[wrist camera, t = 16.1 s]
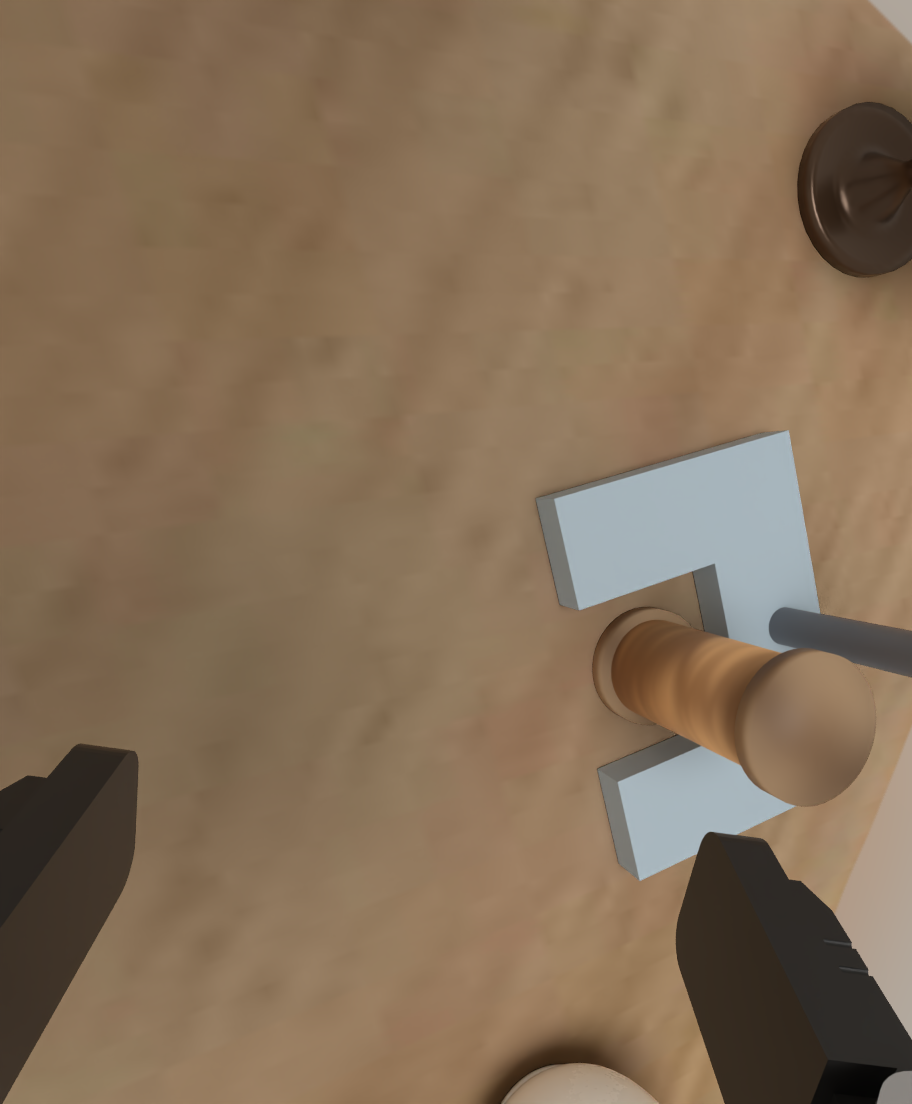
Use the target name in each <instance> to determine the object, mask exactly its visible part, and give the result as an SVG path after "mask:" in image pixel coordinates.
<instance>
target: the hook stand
mask: <svg viewBox="0 0 912 1104" xmlns="http://www.w3.org/2000/svg"><path fill="white" fill-rule="evenodd" d="M536 503H537V507H538V511H539V516H540V520H541V524H542V529H543V533H544V538H545V542H546V546H547V551H548V555H549V560H550V564H551V568H552V573H553V577H554V581H555V586H556V590H557V595H558V599H559V603H560V605H562V606H566V607H569V608H573V609H576V610H582V609H585V608H587V607H590V606H593V605H596V604H599V603H602V602H605V601H608V600H611V599H613V598H616V597H619V596H622V595H625V594H628V593H631V592H634V591H637V590H639V589H642V588H645V587H648V586H651V585H654V584H657V583H660V582H663V581H665V580H668V579H671V578H674V577H677V576H680V575H683V574H686V573H689V572H691V571H693V575H694V580H695V585H696V590H697V595H698V600H699V605H700V610H701V615H702V620H703V625H704V630H705V632H708V633H712V634H716V635H719V636H723V637H726V638H730V639H733V640H737V641H741V642H744V643H748V644H751V645H755V646H759V647H762V648H766V649H769V650H773V651H776V652H780V653H783V652H786V651H788V650H792V649H797V648H812V649H816V650H820V651H824V652H827V653H831V654H835V655H839V656H841V657H844V658H846V659H848V660H849V661H851V662H852V663H856V664H860V665H864V666H868V667H872V668H876V669H880V670H884V671H888V672H892V673H896V674H900V675H904V676H908V677H912V631H909V630H904V629H899V628H894V627H888V626H883V625H878V624H872V623H867V622H862V621H856V620H851V619H846V618H841V617H835V616H830V615H825V614H820V609H819V603H818V597H817V591H816V585H815V580H814V574H813V568H812V562H811V557H810V551H809V545H808V539H807V534H806V528H805V522H804V516H803V511H802V505H801V499H800V493H799V487H798V482H797V476H796V470H795V464H794V459H793V453H792V447H791V441H790V436H789V430H786V431H776V432H766V433H760V434H756V435H753V436H749V437H746V438H742V439H739V440H736V441H732V442H729V443H725V444H722V445H718V446H715V447H711V448H708V449H705V450H701V451H698V452H694V453H691V454H687V455H684V456H680V457H677V458H674V459H670V460H667V461H663V462H660V463H656V464H653V465H649V466H646V467H643V468H639V469H636V470H632V471H629V472H625V473H622V474H618V475H615V476H612V477H608V478H605V479H601V480H598V481H594V482H591V483H587V484H584V485H581V486H577V487H574V488H570V489H567V490H563V491H560V492H556V493H553V494H550V495H546V496H543V497H539V498H536ZM597 770H598V774H599V779H600V783H601V787H602V792H603V796H604V800H605V805H606V809H607V814H608V818H609V822H610V827H611V831H612V836H613V840H614V844H615V849H616V853H617V857H618V862H619V864H620V865H621V866H622V867H624V868H625V869H626V870H627V871H628V872H630V873H631V874H632V875H633V876H634V877H636V878H637V879H638V880H639V881H641V880H643V879H645V878H647V877H649V876H651V875H653V874H655V873H658V872H660V871H662V870H664V869H666V868H668V867H670V866H672V865H674V864H676V863H678V862H680V861H683V860H685V859H687V858H689V857H691V856H693V855H695V854H697V853H698V850H699V847H700V844H701V841H702V839H703V837H704V836H705V835H706V834H707V833H708V832H717V833H725V834H732V835H737V834H739V833H741V832H743V831H745V830H747V829H749V828H751V827H753V826H755V825H758V824H760V823H762V822H764V821H766V820H768V819H770V818H772V817H774V816H776V815H778V814H780V813H783V812H785V811H787V810H789V809H791V808H793V807H795V806H794V805H791V804H788V803H785V802H783V801H782V800H780V799H778V798H776V797H774V796H772V795H770V794H768V793H766V792H764V791H763V790H761V789H759V788H758V787H757V786H756V785H754V784H753V783H752V781H751V780H750V779H749V778H748V777H747V775H746V774H745V772H744V771H743V769H742V767H741V765H739V764H737V763H735V762H733V761H731V760H729V759H727V758H725V757H723V756H721V755H719V754H717V753H715V752H713V751H711V750H709V749H707V748H705V747H703V746H701V745H699V744H697V743H695V742H693V741H691V740H689V739H687V738H684V737H682V736H680V735H677V736H674V737H672V738H669V739H667V740H665V741H662V742H660V743H658V744H655V745H653V746H650V747H648V748H646V749H643V750H641V751H639V752H636V753H634V754H631V755H629V756H627V757H624V758H622V759H620V760H617V761H615V762H612V763H610V764H608V765H605V766H603V767H600V768H598V769H597Z"/></svg>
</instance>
